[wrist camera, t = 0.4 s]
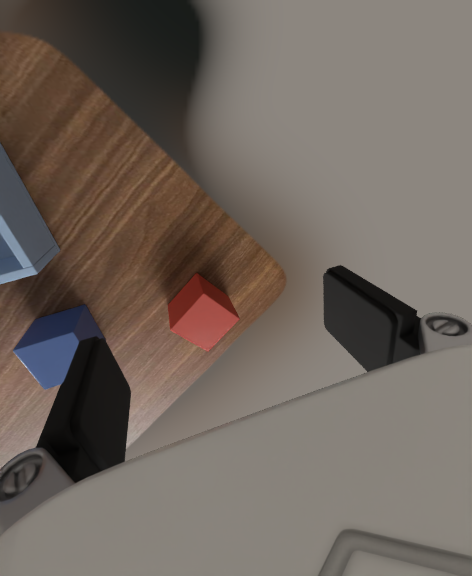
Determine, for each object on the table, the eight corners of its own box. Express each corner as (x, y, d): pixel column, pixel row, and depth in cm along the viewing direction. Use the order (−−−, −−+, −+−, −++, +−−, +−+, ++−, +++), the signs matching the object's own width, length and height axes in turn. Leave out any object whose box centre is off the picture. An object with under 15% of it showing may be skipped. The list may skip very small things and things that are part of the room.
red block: (167, 304, 27) (169, 330, 23) (196, 272, 26) (203, 292, 22) (200, 325, 29) (208, 352, 25) (228, 296, 28) (240, 318, 24)
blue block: (34, 319, 24) (12, 350, 20) (85, 303, 24) (73, 331, 21) (60, 355, 26) (44, 390, 22) (106, 340, 27) (98, 371, 23)
